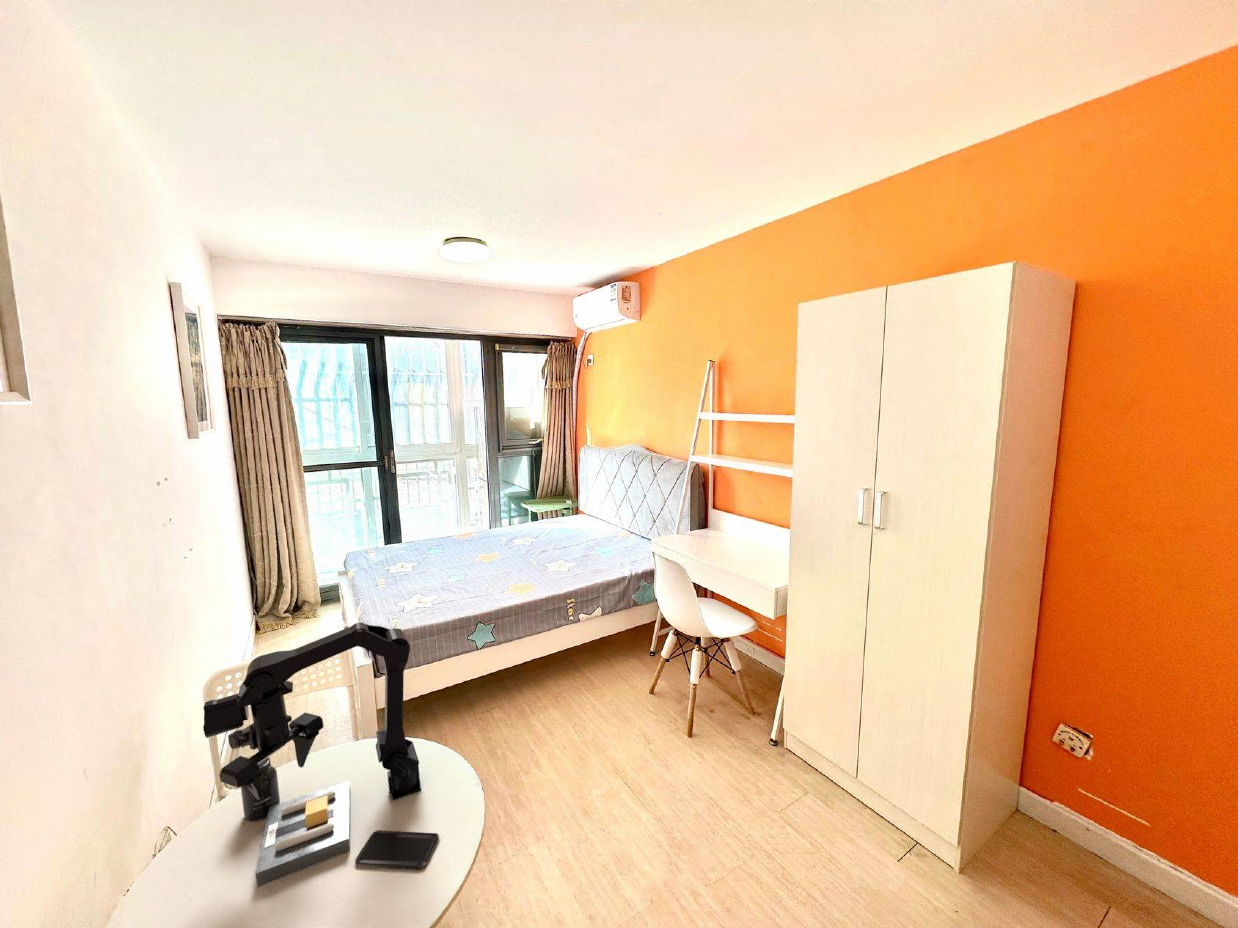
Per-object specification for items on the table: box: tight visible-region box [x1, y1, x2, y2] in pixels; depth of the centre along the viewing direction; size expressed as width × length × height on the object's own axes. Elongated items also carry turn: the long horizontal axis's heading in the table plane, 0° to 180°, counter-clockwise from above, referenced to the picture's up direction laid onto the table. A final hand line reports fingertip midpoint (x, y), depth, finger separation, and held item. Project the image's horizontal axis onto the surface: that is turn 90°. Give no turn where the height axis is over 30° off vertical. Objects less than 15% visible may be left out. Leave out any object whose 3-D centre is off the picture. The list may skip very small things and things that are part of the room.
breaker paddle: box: [305, 795, 329, 828], centre depth 109 cm, size 4×4×3 cm
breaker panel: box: [255, 780, 352, 888], centre depth 109 cm, size 16×18×3 cm
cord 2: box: [281, 791, 336, 815], centre depth 113 cm, size 11×2×2 cm, turn 118°
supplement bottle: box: [240, 757, 281, 822], centre depth 115 cm, size 7×7×12 cm
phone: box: [354, 829, 440, 871], centre depth 104 cm, size 8×1×15 cm
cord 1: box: [275, 823, 334, 851], centre depth 104 cm, size 11×2×2 cm, turn 118°
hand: (281, 782), depth 107 cm, fingers open, 9 cm apart
